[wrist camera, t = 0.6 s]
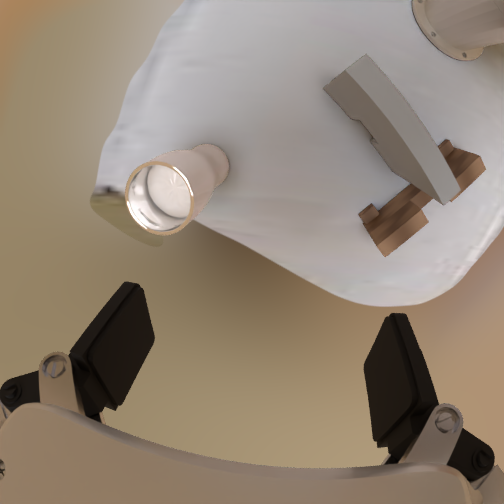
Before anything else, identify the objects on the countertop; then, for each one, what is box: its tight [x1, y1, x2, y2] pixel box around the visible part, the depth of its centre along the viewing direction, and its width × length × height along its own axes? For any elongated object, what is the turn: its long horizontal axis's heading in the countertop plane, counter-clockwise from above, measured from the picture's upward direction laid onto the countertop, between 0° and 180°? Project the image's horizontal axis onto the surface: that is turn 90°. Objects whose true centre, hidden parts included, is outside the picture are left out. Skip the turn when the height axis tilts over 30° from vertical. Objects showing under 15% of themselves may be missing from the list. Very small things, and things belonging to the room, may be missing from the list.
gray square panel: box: [323, 54, 461, 206], centre depth 23 cm, size 2×14×14 cm, turn 46°
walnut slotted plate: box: [358, 139, 486, 257], centre depth 29 cm, size 18×5×7 cm, turn 135°
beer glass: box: [125, 144, 229, 235], centre depth 28 cm, size 7×7×15 cm
